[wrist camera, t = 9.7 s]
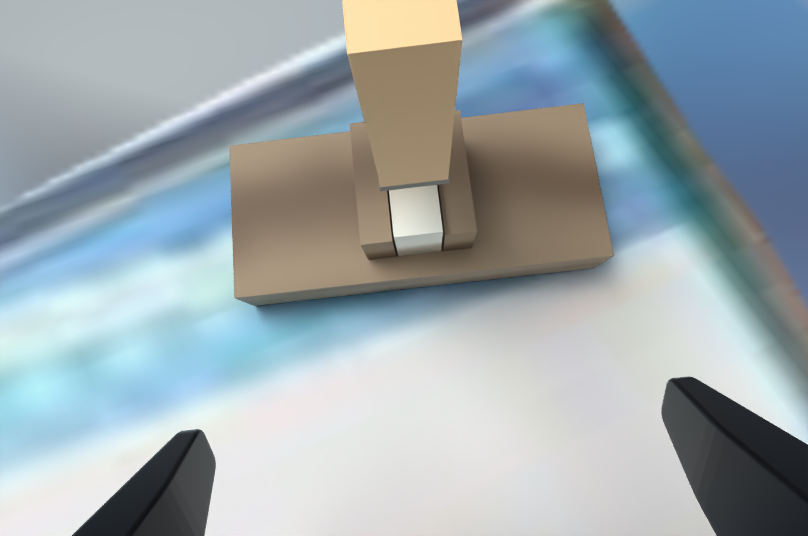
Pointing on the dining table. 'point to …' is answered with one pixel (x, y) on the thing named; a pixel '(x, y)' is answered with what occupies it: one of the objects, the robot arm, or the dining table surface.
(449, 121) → the stub
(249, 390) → the dining table surface
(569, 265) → the stand
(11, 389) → the dining table surface
